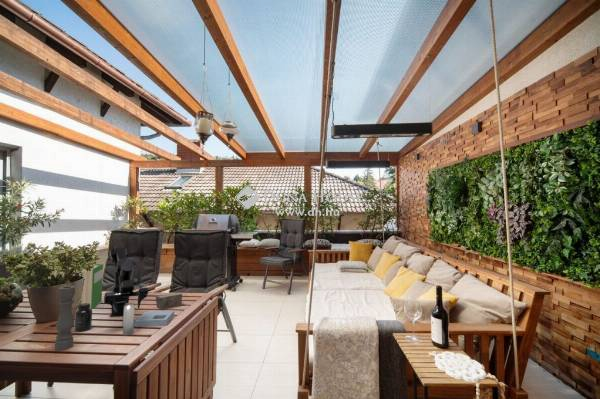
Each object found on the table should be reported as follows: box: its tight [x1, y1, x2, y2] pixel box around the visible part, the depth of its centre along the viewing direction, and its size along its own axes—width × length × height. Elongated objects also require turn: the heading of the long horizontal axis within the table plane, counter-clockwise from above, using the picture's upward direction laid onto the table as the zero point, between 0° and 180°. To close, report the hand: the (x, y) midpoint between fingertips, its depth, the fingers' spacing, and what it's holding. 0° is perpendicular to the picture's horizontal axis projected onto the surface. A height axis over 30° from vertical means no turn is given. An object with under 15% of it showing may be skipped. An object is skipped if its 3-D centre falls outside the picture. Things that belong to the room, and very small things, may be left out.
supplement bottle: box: [73, 303, 93, 333], centre depth 146 cm, size 7×7×12 cm
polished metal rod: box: [122, 303, 135, 336], centre depth 141 cm, size 4×4×13 cm
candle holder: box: [54, 285, 76, 352], centre depth 126 cm, size 6×6×25 cm
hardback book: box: [79, 263, 104, 310], centre depth 185 cm, size 18×7×24 cm, turn 20°
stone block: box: [155, 292, 183, 311], centre depth 182 cm, size 14×9×8 cm, turn 123°
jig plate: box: [134, 310, 175, 328], centre depth 158 cm, size 15×15×3 cm
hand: (128, 310), depth 144 cm, fingers open, 9 cm apart
